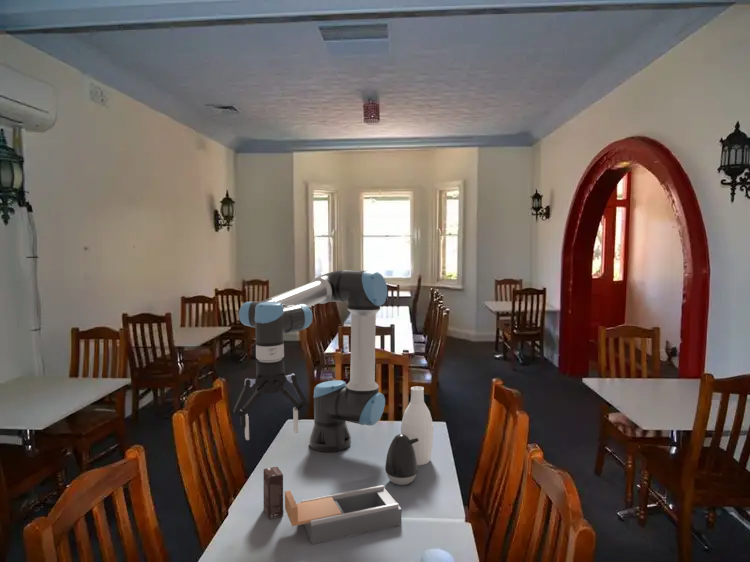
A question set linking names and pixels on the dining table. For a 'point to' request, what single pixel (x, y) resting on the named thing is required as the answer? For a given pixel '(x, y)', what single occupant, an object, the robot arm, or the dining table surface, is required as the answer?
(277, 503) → the box
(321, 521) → the grey sliding-lid case
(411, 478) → the pump dispenser
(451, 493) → the dining table surface
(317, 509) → the shutter
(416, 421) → the bottle
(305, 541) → the dining table surface
